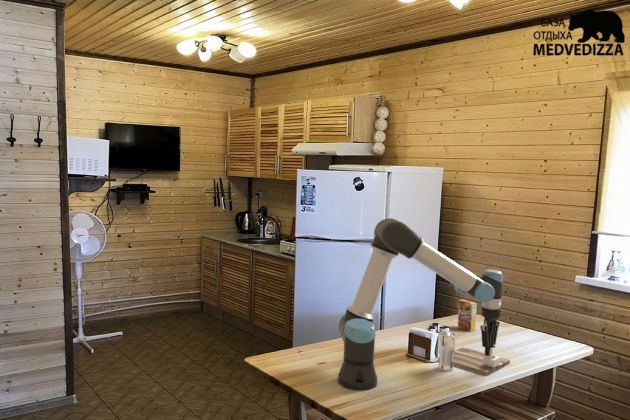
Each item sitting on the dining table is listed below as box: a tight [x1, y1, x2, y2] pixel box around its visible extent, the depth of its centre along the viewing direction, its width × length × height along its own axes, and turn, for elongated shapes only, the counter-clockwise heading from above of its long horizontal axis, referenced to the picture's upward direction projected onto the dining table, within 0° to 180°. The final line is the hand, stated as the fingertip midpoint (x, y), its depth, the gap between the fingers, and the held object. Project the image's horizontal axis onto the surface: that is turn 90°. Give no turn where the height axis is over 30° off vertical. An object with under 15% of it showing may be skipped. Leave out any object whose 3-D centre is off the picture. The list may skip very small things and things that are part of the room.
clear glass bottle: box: [437, 331, 457, 372], centre depth 223 cm, size 7×7×15 cm
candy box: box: [457, 298, 478, 333], centre depth 282 cm, size 9×4×15 cm, turn 36°
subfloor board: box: [437, 346, 511, 377], centre depth 232 cm, size 22×22×2 cm
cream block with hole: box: [483, 354, 502, 367], centre depth 225 cm, size 6×5×3 cm
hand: (487, 362), depth 222 cm, fingers closed
